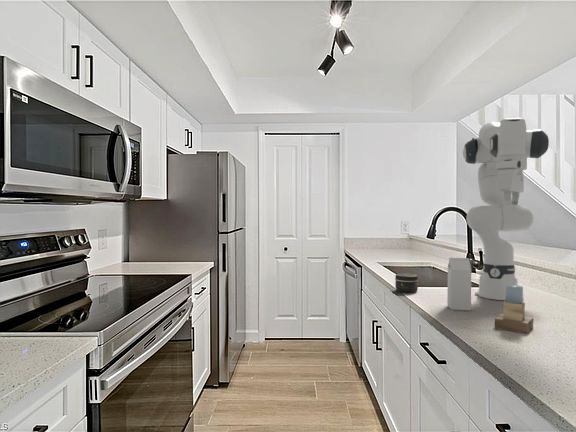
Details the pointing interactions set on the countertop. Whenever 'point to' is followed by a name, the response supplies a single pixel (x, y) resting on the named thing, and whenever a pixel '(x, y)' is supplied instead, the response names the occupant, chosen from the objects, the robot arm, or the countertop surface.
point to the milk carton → (459, 284)
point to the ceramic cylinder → (514, 294)
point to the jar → (406, 283)
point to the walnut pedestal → (514, 324)
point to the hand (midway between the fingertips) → (511, 205)
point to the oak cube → (514, 311)
